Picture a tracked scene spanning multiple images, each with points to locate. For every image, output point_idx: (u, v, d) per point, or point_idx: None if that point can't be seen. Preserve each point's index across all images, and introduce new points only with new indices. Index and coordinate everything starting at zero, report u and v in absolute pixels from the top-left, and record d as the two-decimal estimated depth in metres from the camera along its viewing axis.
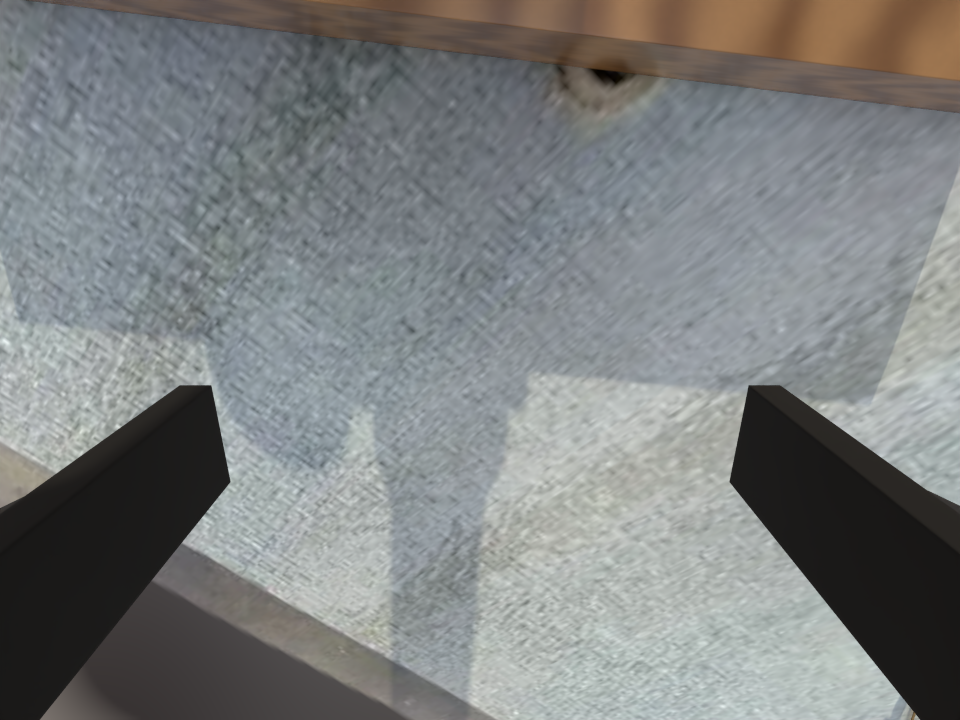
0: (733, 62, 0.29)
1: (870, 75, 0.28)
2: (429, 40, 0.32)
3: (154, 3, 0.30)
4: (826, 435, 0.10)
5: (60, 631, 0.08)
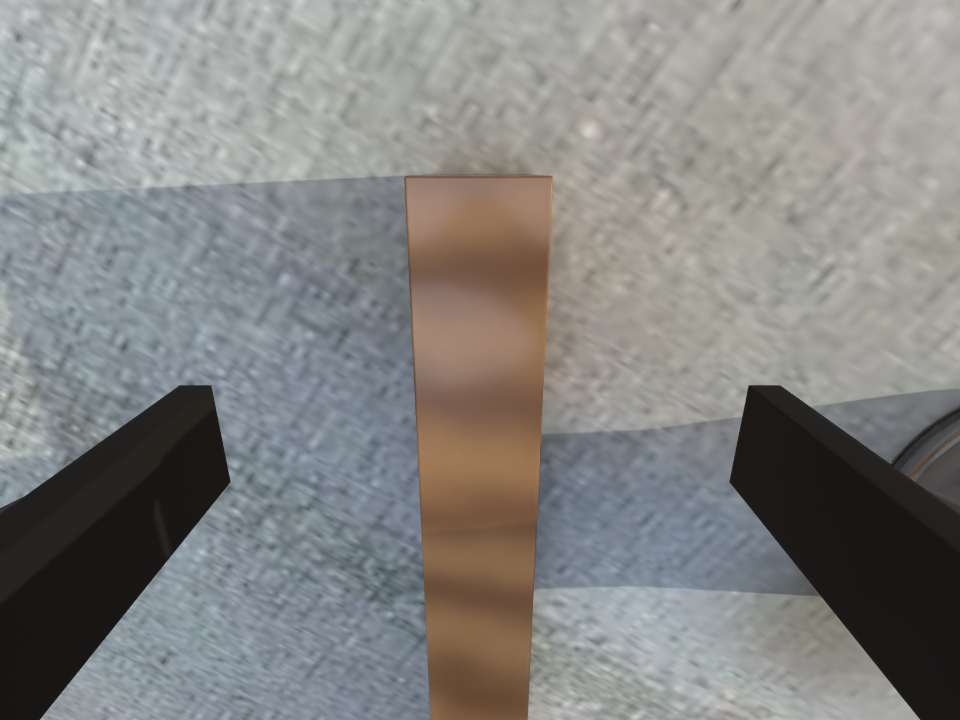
0: None
1: None
2: None
3: None
4: (826, 435, 0.10)
5: (60, 631, 0.08)
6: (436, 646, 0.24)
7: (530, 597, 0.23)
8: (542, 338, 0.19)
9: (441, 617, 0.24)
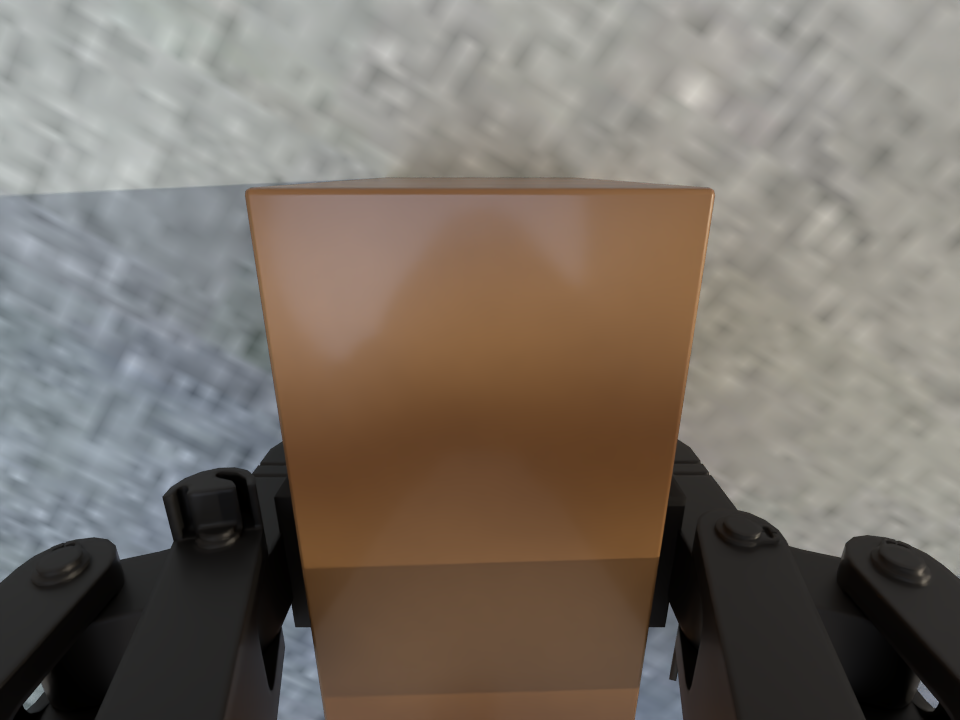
0: None
1: None
2: None
3: None
4: None
5: None
6: None
7: None
8: (644, 608, 0.07)
9: None
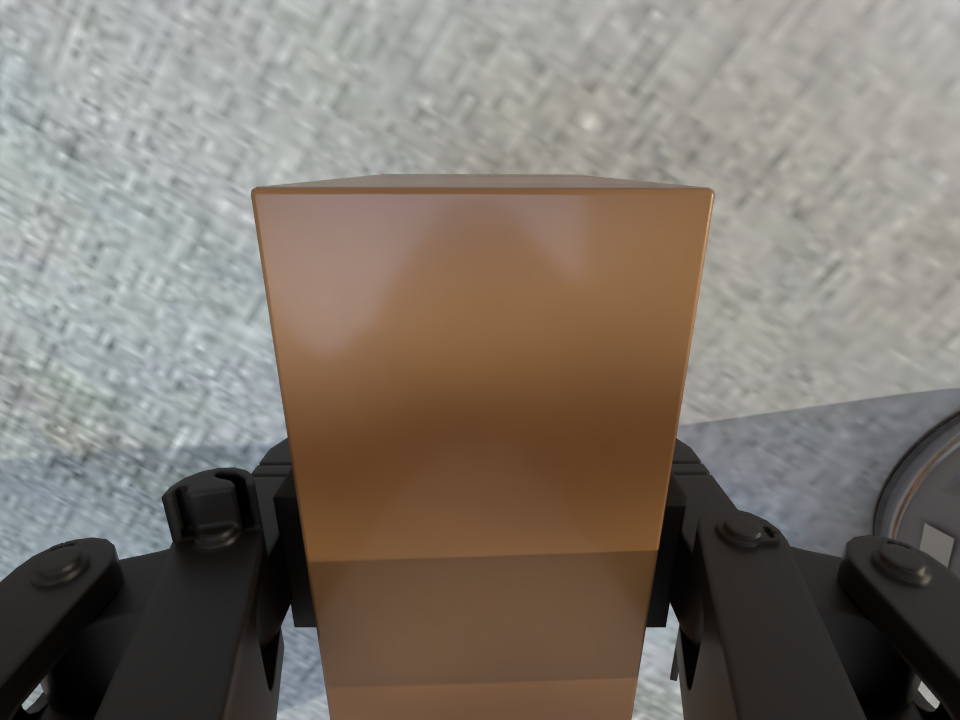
0: None
1: None
2: None
3: None
4: None
5: None
6: None
7: None
8: (643, 600, 0.07)
9: None
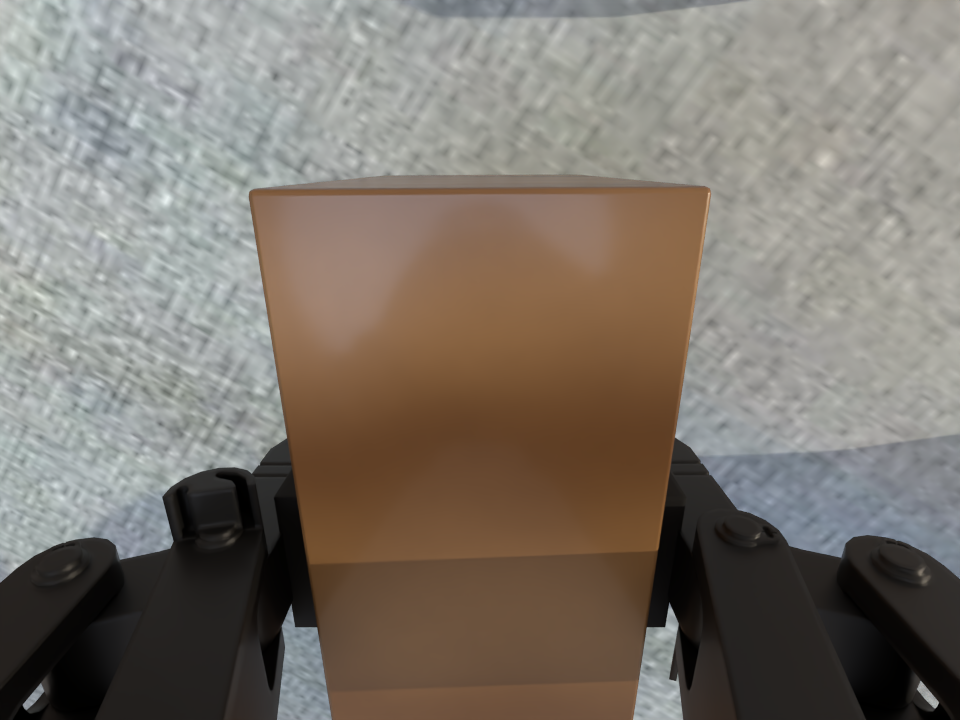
0: None
1: None
2: None
3: None
4: None
5: None
6: None
7: None
8: (642, 599, 0.07)
9: None
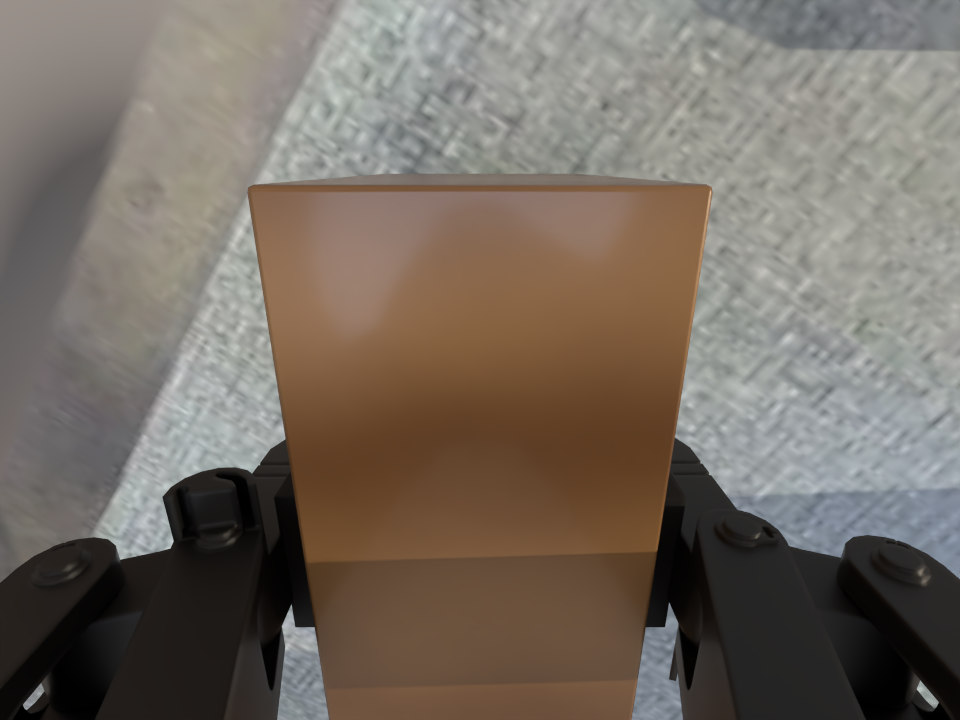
0: None
1: None
2: None
3: None
4: None
5: None
6: None
7: None
8: (642, 599, 0.07)
9: None
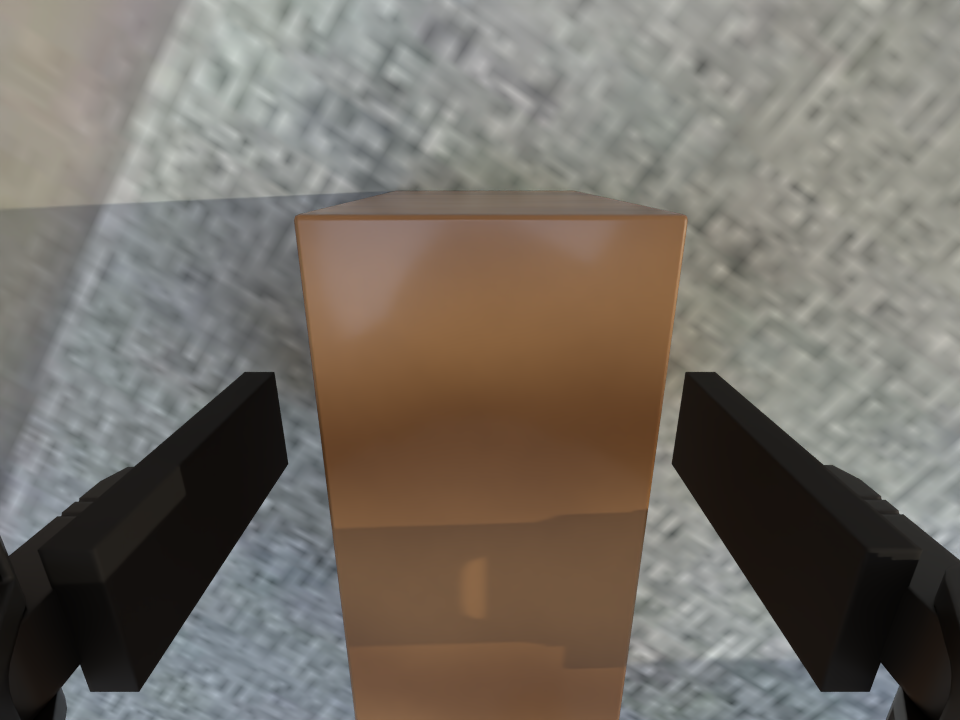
0: None
1: None
2: None
3: None
4: (743, 415, 0.11)
5: (169, 588, 0.09)
6: None
7: None
8: (632, 575, 0.08)
9: None
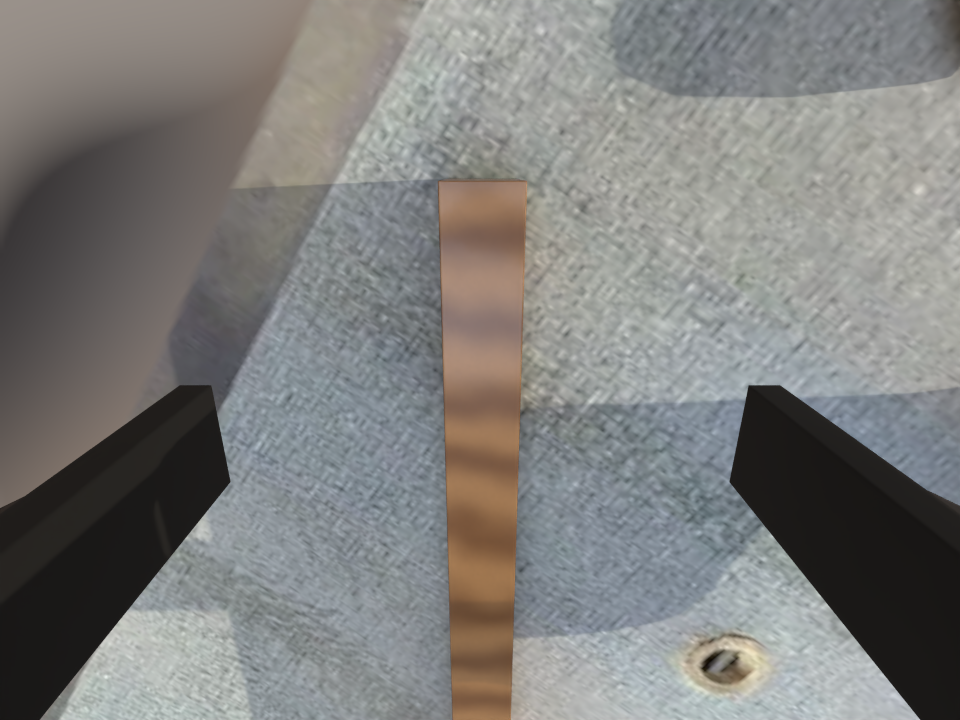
0: None
1: None
2: None
3: None
4: (826, 435, 0.10)
5: (60, 631, 0.08)
6: (453, 500, 0.36)
7: (516, 462, 0.35)
8: (521, 281, 0.30)
9: (456, 477, 0.35)
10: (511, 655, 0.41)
